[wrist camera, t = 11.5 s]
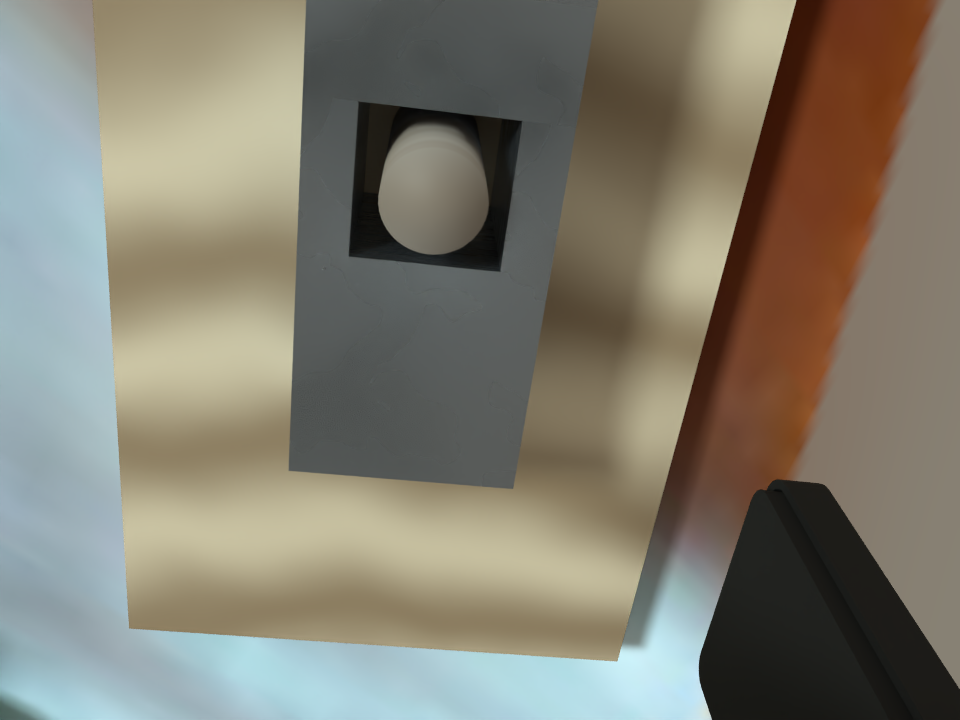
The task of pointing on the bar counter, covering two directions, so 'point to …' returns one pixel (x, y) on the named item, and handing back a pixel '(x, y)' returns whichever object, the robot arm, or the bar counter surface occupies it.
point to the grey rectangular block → (416, 276)
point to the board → (243, 326)
